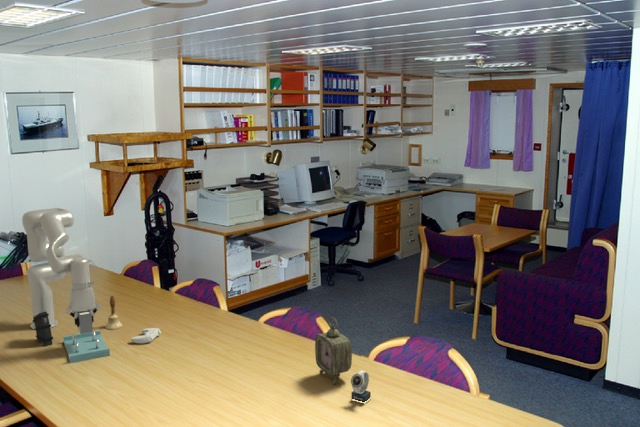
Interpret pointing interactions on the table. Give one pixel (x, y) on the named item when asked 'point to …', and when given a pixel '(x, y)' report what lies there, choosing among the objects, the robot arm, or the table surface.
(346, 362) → the tabletop clock
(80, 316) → the block
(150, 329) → the game controller
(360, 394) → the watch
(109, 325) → the hand bell
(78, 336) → the pin tray
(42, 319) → the black stepped block
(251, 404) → the table surface
